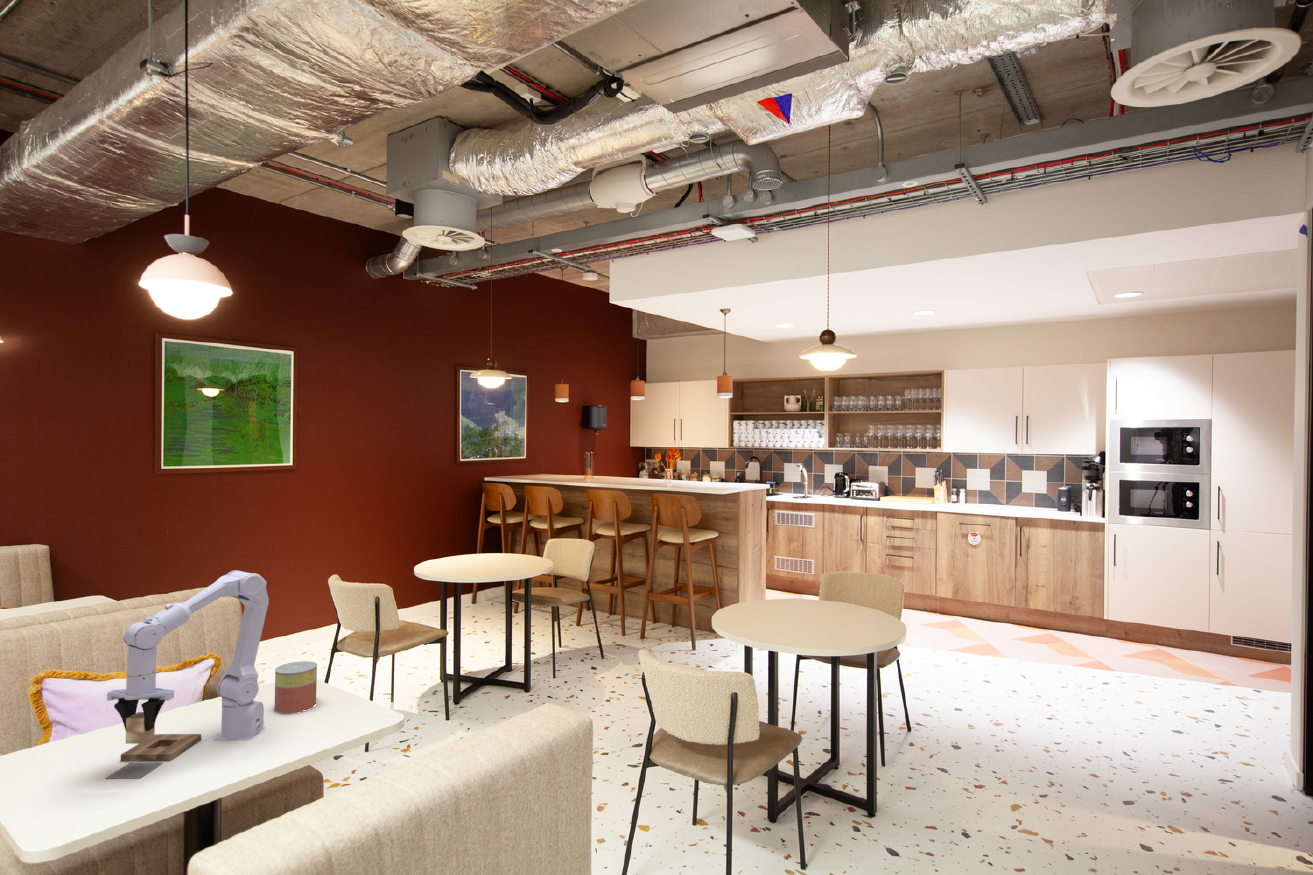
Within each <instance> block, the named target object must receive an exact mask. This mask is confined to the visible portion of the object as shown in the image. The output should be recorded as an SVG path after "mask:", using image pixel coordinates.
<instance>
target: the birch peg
mask: <svg viewBox="0 0 1313 875" xmlns="http://www.w3.org/2000/svg"><path fill="white" fill-rule="evenodd" d="M144 720H145V719H144V712H143V711H136V714H134V715H132V716H130V717H128V718H126V730H125V744H127V745H128V744H129V745H130V744H132V745H133V744H135V745H138V744H143V743H144V742H146V741H148V740H149V739H151V738H153V737H154V734H156V733H155V730H156V729H155V726H156V724H155V725H154V728H153V729H151V730H149V731H145V727H144Z"/></svg>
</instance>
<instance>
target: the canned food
mask: <svg viewBox="0 0 1313 875" xmlns="http://www.w3.org/2000/svg"><path fill="white" fill-rule="evenodd" d="M274 671H275V673H274V675H275V676H274V678H275V679H274V680H275V681H274V708H273V711H274V710H275V711H274V712H275V713H276V712H277V713H276V714H278V713H280V714H279V715H293V714H292V713H296V714H298V713H297V712H301V711H303V710H308V709H310V708H312V707H313V706H314V705H315V704H316V705H317V679H318V678H317V675H318V673H317V672H318V663H316V662H314V661H308V660H307V661H304V660H301V661H295V662H288V663H284V664H282V665H279V666H277V667H275V669H274ZM312 709H313V708H312ZM310 710H311V709H310ZM308 711H309V710H308ZM301 713H302V712H301Z"/></svg>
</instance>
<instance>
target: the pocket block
mask: <svg viewBox="0 0 1313 875" xmlns="http://www.w3.org/2000/svg"><path fill="white" fill-rule="evenodd" d="M201 741H202V733H168V734H167V733H166V734H165V733H162V734H161V733H155V734H154V737H153V738H151V739H149V740H148V741H146V742H144V743H143V744H135V745H134V746H132V747H130V748H129V749H128V750H126V751H124V752H122V753H121V754H120V762H172V761H173V760H174V759H176V758H177V757H179V756H180V755H181V754H183V753H184V752H186V751H187V750H189V749H190V748H192V747H193V746H196V744H198V743H199V742H201Z"/></svg>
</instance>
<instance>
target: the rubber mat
mask: <svg viewBox="0 0 1313 875" xmlns="http://www.w3.org/2000/svg"><path fill="white" fill-rule="evenodd" d="M164 762H165V761H148V762H129V763H127V764H125V765H124V766H122V767H121V768H119V769H118V770H116V771H114V772H113V773H111V774H110V775H108V776H107V777H105V778H104V780H141V779H142V778H144V777H145V776H147V775H148V774H149V773H151V772H153V771H154V770H156V769H157V768H158V767H159V766H160V767H161V765H162V764H165V763H164Z"/></svg>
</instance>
